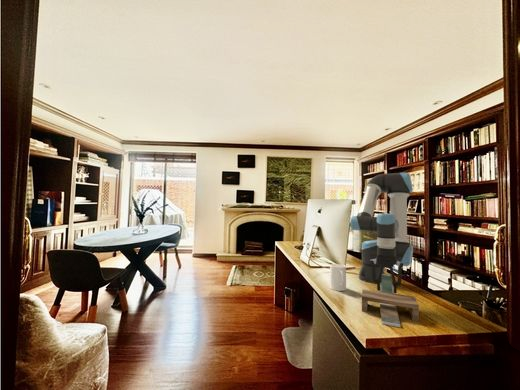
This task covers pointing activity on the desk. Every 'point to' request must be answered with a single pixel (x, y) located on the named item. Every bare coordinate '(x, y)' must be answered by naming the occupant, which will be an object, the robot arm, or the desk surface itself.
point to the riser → (391, 301)
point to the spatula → (387, 287)
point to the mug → (338, 277)
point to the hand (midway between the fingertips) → (386, 298)
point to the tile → (390, 321)
